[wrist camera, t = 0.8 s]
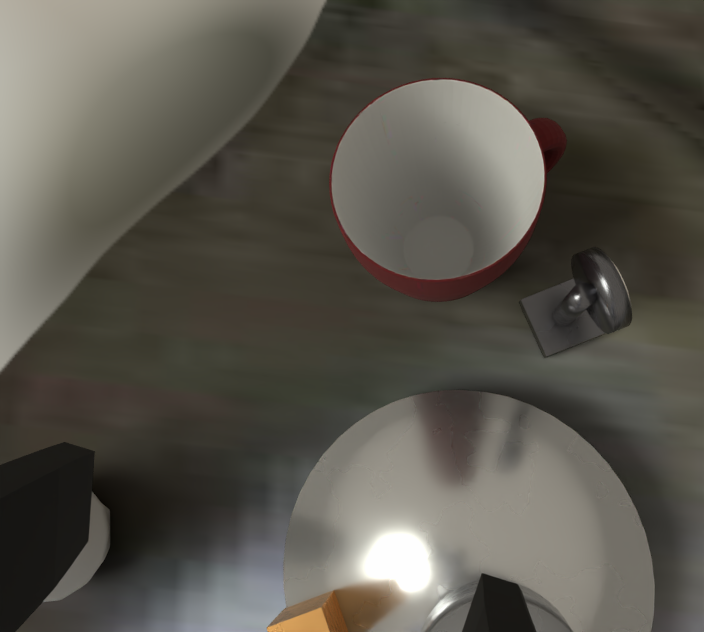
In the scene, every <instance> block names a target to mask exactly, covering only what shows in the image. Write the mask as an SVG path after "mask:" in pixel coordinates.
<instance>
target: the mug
mask: <svg viewBox="0 0 704 632" xmlns="http://www.w3.org/2000/svg"><path fill="white" fill-rule="evenodd" d="M566 142H567V140H566V136H565V133H564V132H563V130H562V129H561V127H560V126H559V125H558V124H557V123H556V122H555V121H553V120H550V119H548V118H536V119H532V120H530V121H528V119H527V118H526V117H525V115H524V114H523V113H522V112H521V111H520V110H519V109H518V108H517V107H516V106H515V105H514V104H513V103H511V102H510V101H509V100H508V99H506V98H505V97H503V96H502V95H500V94H499V93H497V92H495V91H493V90H492V89H489V88H487V87H485V86H483V85H480V84H477V83H474V82H470V81H466V80H460V79H453V78H431V79H423V80H418V81H413V82H410V83H407V84H403V85H401V86H398V87H396V88H393V89H391V90H389V91H387V92H386V93H384V94H382V95H380V96H379V97H377V98H376V99H374V100H373V101H372V102H370V103H369V104H368V105H367V106H366V107H364V108H363V109H362V110H361V111H360V112H359V113H358V114H357V115H356V117H355V118H354V119H353V120H352V121H351V123H350V124H349V125H348V127H347V128H346V130H345V131H344V133H343V135H342V136H341V138H340V141H339V143H338V145H337V147H336V150H335V153H334V156H333V160H332V164H331V170H330V182H329V185H330V198H331V204H332V208H333V212H334V215H335V218H336V220H337V223H338V225H339V228H340V230H341V232H342V234H343V237H344V239H345V241H346V243H347V245H348V246H349V248H350V250H351V251H352V253H353V254H354V256H355V257H356V258H357V260H358V261H359V262H360V263H361V265H362V266H363V267H364V268H365V269H366V270H367V271H368V272H369V273H371V274H372V275H373V276H374V277H375V278H376V279H378V280H379V281H381V282H382V283H384V284H385V285H387V286H389V287H391V288H392V289H394V290H397V291H399V292H401V293H403V294H406V295H408V296H410V297H413V298H416V299H419V300H424V301H432V302H442V301H451V300H455V299H459V298H462V297H465V296H467V295H469V294H471V293H474V292H475V291H477V290H479V289H481V288H483V287H484V286H486V285H488V284H489V283H491V282H493V281H494V280H495V279H497V278H498V277H499V276H501V275H502V274H503V273H504V272H505V271H506V270H507V269H508V268H509V267H510V266H511V265H512V264H513V263H514V262H515V261H516V260H517V258H518V257H519V256H520V254H521V253H522V251H523V250H524V248H525V247H526V245H527V243H528V242H529V240H530V238H531V236H532V233H533V231H534V229H535V226H536V224H537V221H538V218H539V215H540V212H541V209H542V206H543V203H544V198H545V193H546V183H547V173H548V172H549V171H550V170H551V169H552V168H553V167H554V166H555V164H556V163H557V162H558V161H559V159H560V158H561V157H562V155H563V153H564V151H565V148H566Z"/></svg>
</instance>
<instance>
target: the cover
mask: <svg viewBox="0 0 704 632" xmlns="http://www.w3.org/2000/svg"><path fill="white" fill-rule="evenodd" d="M478 582H479V581H478ZM478 582H474V583H470V584H467V585H464V586H462V587H460V588H458V589H456V590H454V591H453V592H451V593H449V594H448V595H447V596H445V597H444V598H443V599H442V600H441V601H440V602H439V603H438V604H437V605H436V606H435V607H434V608H433V610H432V611H431V612H430V614H429V615H428V617H427V619H426V621H425V623H424V625H423V627H422V629H421V632H462V630H463V627H464V624H465V621H466V618H467V615H468V612H469V609H470V606H471V603H472V600H473V597H474V594H475V591H476V588H477V585H478ZM518 585H519V584H518ZM519 587H520V589H521V591H522V593H523V596H524V599H525V601H526V604H527V607H528V610H529V613H530V616H531V618H532V621H533V624H534V626H535V629H536V632H573V631H572V629H571V627H570V626H569V624H568V623H567V621H566V620H565V618H564V617H563V616H562V615H561V613H560V612H559V611H558V610H557V609H556V608H555V607H554V606H553V605H552V604H551V603H550V602H549V601H548V600H546V599H545V598H544V597H542V596H541V595H540V594H538V593H536V592H534V591H533V590H531V589H529V588H526V587H524V586H522V585H519Z"/></svg>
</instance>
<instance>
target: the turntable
mask: <svg viewBox="0 0 704 632" xmlns="http://www.w3.org/2000/svg"><path fill="white" fill-rule="evenodd" d="M283 570H284V592H285V600H286V607H287V608H285V609H284V610H283V611H282V612H281V613H280V614H279V615H278V616H277V617H276V618H275V619H274V620H273V621H272V623H271V624H270V625H269V626H268V627H267V631H268V632H421V629H422V627H423V625H424V623H425V621H426V619H427V617H428V615H429V614H430V612H431V611H432V610H433V608H434V607H435V606H436V605H437V604H438V603H439V602H440V601H441V600H442V599H443V598H444V597H445V596H447V595H448V594H449V593H451V592H453V591H454V590H456V589H458V588H460V587H462V586H464V585H467V584H470V583H474V582H478V581H479V579H480V577H481V574H482V573H484V574H487V575H490V576H493V577H497V578H500V579H503V580H506V581H509V582H512V583H516V584H519V585H522V586H524V587H526V588H529V589H531V590H533V591H534V592H536V593H538V594H540V595H541V596H542V597H544V598H545V599H546V600H548V601H549V602H550V603H551V604H552V605H553V606H554V607H555V608H556V609H557V610H558V611H559V612H560V613H561V615H562V616H563V617H564V618H565V620H566V621H567V623H568V624H569V626H570V627H571V629H572V631H573V632H651V630H652V623H653V617H654V600H655V583H654V574H653V565H652V558H651V554H650V550H649V545H648V541H647V537H646V533H645V531H644V528H643V525H642V523H641V520H640V518H639V515H638V512H637V510H636V508H635V506H634V504H633V502H632V500H631V498H630V496H629V495H628V493H627V491H626V489H625V487H624V485H623V484H622V482H621V481H620V480H619V478H618V477H617V475H616V474H615V473H614V471H613V470H612V468H611V467H610V465H609V464H608V463H607V462H606V461H605V460H604V459H603V458H602V456H601V455H600V454H599V453H598V452H597V451H596V450H595V449H594V448H593V447H592V445H590V444H589V443H588V442H587V441H586V440H585V439H583V438H582V437H581V436H580V435H579V434H578V433H576V432H575V431H574V430H573V429H572V428H570V427H569V426H567V425H566V424H564V423H563V422H561V421H560V420H558V419H557V418H555V417H554V416H552V415H550V414H548V413H546V412H544V411H542V410H540V409H538V408H536V407H534V406H532V405H530V404H527V403H524V402H521V401H519V400H516V399H513V398H510V397H507V396H502V395H498V394H493V393H489V392H483V391H471V390H444V391H434V392H429V393H423V394H417V395H414V396H411V397H407V398H404V399H401V400H398V401H395V402H393V403H391V404H388V405H386V406H384V407H382V408H380V409H378V410H376V411H374V412H372V413H371V414H369V415H368V416H366V417H364V418H363V419H361V420H360V421H358V422H357V423H355V424H354V425H353V426H352V427H350V428H349V429H348V430H347V431H346V432H345V433H343V434H342V435H341V436H340V437H339V438H338V439H337V440H336V441H335V442H334V443H333V444H332V445H331V446H330V447H329V449H328V450H327V451H326V452H325V453H324V454H323V455H322V457H321V458H320V460H319V461H318V463H317V464H316V465H315V467H314V468H313V470H312V471H311V473H310V474H309V476H308V478H307V480H306V482H305V484H304V486H303V488H302V490H301V492H300V494H299V496H298V499H297V502H296V504H295V507H294V510H293V512H292V515H291V519H290V523H289V528H288V532H287V536H286V543H285V552H284V562H283Z"/></svg>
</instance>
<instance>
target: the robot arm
mask: <svg viewBox="0 0 704 632" xmlns="http://www.w3.org/2000/svg"><path fill="white" fill-rule="evenodd" d="M94 453H95V451H92V450H88V449H85V448H82V447H79V446H76V445H73V444H69V443H66V442H64V443H60V444H57V445H54V446H51V447H48V448H45V449H42V450H40V451H37V452H34V453H31V454H29V455H26V456H23V457H21V458H18V459H15V460H13V461H10V462H7V463H5V464H2V465H0V632H15V631H16V630H17V629H18V628H19V627H20V626H21V625H22V624H23V623H24V622H25V621H26V620H27V618H28V617H29V616H30V615H31V614H32V613H33V612H34V611H35V610H36V609H37V607H38V606H39V605H40V604H41V603H42V602H43V601H44V600H45V599H46V598H47V596H48V595H49V594H50V593H51V592H52V591H53V590H54V589H55V587H56V586H57V584H58V583H59V582H60V580H61V579H62V578H63V576H64V575H65V574H66V572H67V571H68V570H69V568H70V567H71V566H72V564H73V563H74V561H75V560H76V558H77V557H78V555H79V554H80V553H81V551H82V550H83V548H84V547H85V545H86V544H87V543H88V541H89V527H90V512H91V497H92V482H93V468H94ZM462 632H536V629H535V626H534V624H533V621H532V618H531V616H530V613H529V610H528V607H527V604H526V601H525V599H524V596H523V593H522V591H521V589H520V587H519V585H518V584H516V583H512V582H509V581H506V580H503V579H500V578H497V577H493V576H490V575H487V574H484V573H482V574H481V577H480V579H479V582H478V585H477V588H476V591H475V594H474V597H473V600H472V603H471V606H470V609H469V612H468V615H467V618H466V621H465V624H464V627H463V630H462Z"/></svg>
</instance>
